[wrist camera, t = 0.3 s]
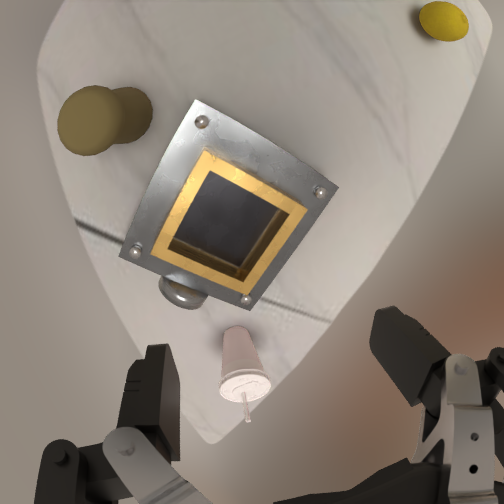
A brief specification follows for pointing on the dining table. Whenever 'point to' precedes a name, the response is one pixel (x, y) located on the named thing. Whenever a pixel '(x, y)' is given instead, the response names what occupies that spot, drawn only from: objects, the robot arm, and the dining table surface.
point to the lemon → (443, 21)
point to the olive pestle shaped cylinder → (103, 118)
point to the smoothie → (241, 369)
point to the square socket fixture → (223, 212)
